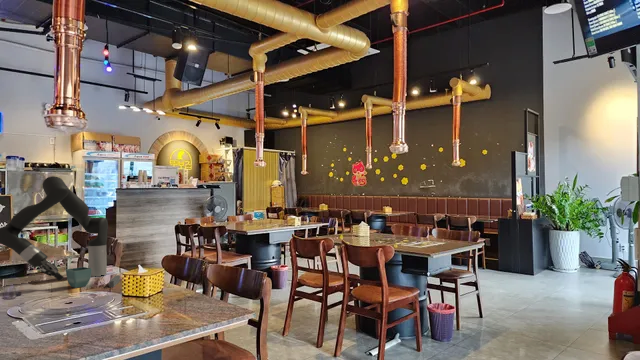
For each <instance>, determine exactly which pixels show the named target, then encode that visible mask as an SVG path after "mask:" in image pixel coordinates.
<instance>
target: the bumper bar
mask: <svg viewBox="0 0 640 360" xmlns="http://www.w3.org/2000/svg"><path fill="white" fill-rule="evenodd" d="M120 278H121V275H120V274H115V276H114V277H112V278H111V279H110V280H109V282H108V284H109V285H108V286H109V287H108V288H115V286H116V285H118V284H119V283H120V282H121V280H120Z"/></svg>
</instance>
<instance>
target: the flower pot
mask: <svg viewBox="0 0 640 360" xmlns="http://www.w3.org/2000/svg"><path fill="white" fill-rule="evenodd" d="M91 271H92V268H88V266H87V267H86V266H81V267H75V268H73V267H72V268H65V275H66V280H67V283H68V284H69V286H70V287H72V288H75V289H79V288H84V287H87V285H88V284H89V282H90V280H91V278H92V277H91Z"/></svg>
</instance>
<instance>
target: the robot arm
mask: <svg viewBox="0 0 640 360" xmlns="http://www.w3.org/2000/svg"><path fill="white" fill-rule="evenodd" d="M42 189H43V191H44V193H45V197H44V198H43V199H42V201H39V202H37V203H35V204H32V205H28V206H25V207H23V208H22V209H20V210H19V211H18V212H17V213H16V214H14V216H13V217H12V218H10V221H9V223H7V224H6V225H4V226H1V227H0V244H1V245H3V246H5V247H7V248H8V249H9V248H10V249H12V250H13V251H14V252H15V253H16V254H18V255H19V257H20V258H22V259H23V260H24V261H25V262H26V263H28V264H29V265H30V266H31V267H32V268H34V269H36V268H39V269H40V272H41V273H42V274H45V275H47V276H49V277H54V278H55V279H56V280H58V281H60V282H61V281H62V280H63V279H64V275H62V274H61V273H59V269H58V268H57V266H56V264H55V263H53V262H50V261H48V260H47V259H48V255H47V254H45V253H44V251H42V249H40V248H39V247H37V246H35V245H34V244H33V243H32V242H30V241H29V240H28V239H27V238H25V237H18V236H19V235H20V233H22V231H23V230H24V229H25V228H26V227H27V226H28V225H29V224H31V222H33V221H34V220H35V219H36V218H37V217H39V216H40V215H41V214H43V213H45V212H46V211H48V210H50V209H51V208H52V207H54V206H55V205H57V204H58V203H59V204H60V205H61V207H62V208H63V209H64V211H65V212H67V213H66V214H68V215H70V216H71V217H72V218H73V219H74V220H76V222H78V223H79V224H80V226H81V227H82V228H83V230H85V232H87V233H88V234H90V235H91V234H93V235H94V234H95V235H97V236H96V237H95V238H94V239H91V240H90V239H89V241H88V243H87V244H88V246H87V247H88V249H87V250H88V251H87V252H88V253H87V254H88V256H87V257H88V259H87V260H88V263H87V265H88V266H87V268H92V271H91V277H90V278H96V277H95V276H97V277H102V276H101V275H104V276H106V275H107V266H108V265H107V259H108V258H107V256H108V255H107V241H108V229H109V224H108V223H109V222H108V219H107V217H103V216H101V217H92V216H90V215H89V213H90V212H89V211H90V210H89V206H88V205H87V204H86V203H85V201H84V200H82V199H81V198H80V197H79V196H78V195H77V194H75V193H74V192H73V191H72V190H71V189H70V188H69V187H68V185H66V183H65V182H64V180H63V179H62V178H61V177H58V176H49V177H46V178H45V179H44V180H43V182H42ZM105 274H106V275H105Z"/></svg>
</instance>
